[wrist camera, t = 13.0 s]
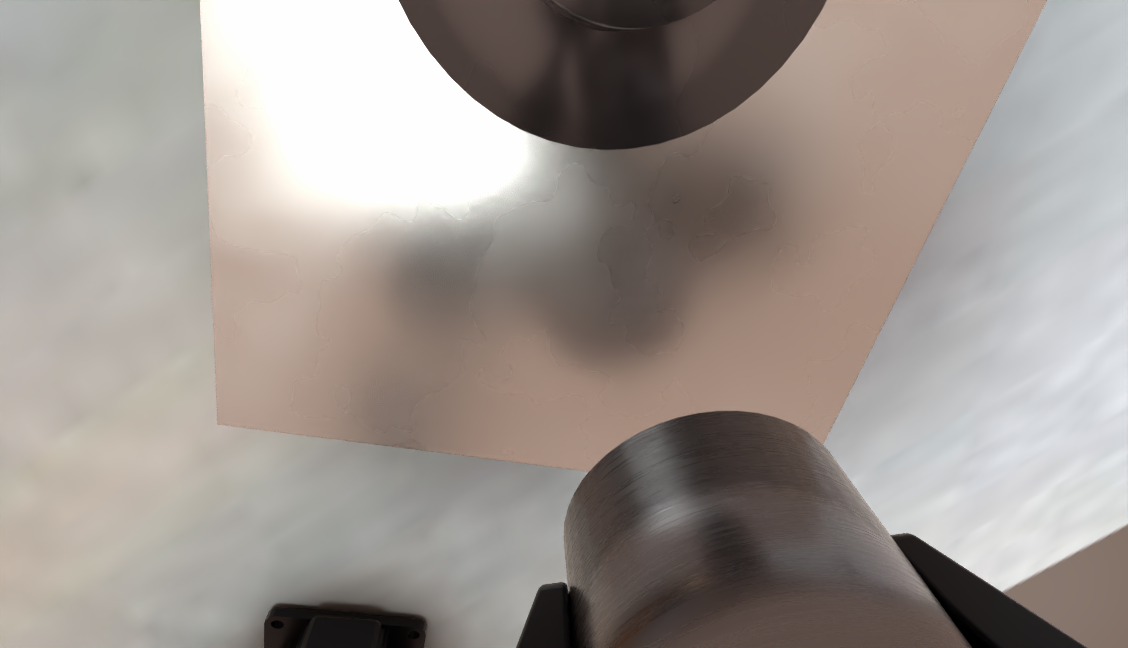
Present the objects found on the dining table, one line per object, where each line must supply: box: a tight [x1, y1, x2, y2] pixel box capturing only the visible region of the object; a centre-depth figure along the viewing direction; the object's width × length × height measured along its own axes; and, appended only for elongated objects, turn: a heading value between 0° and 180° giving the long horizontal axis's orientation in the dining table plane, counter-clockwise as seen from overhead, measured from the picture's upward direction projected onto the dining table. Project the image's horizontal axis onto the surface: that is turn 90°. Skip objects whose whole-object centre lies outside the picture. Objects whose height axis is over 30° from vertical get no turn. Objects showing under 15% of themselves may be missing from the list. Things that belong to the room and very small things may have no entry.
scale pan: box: [200, 0, 1047, 471], centre depth 13 cm, size 17×15×4 cm
